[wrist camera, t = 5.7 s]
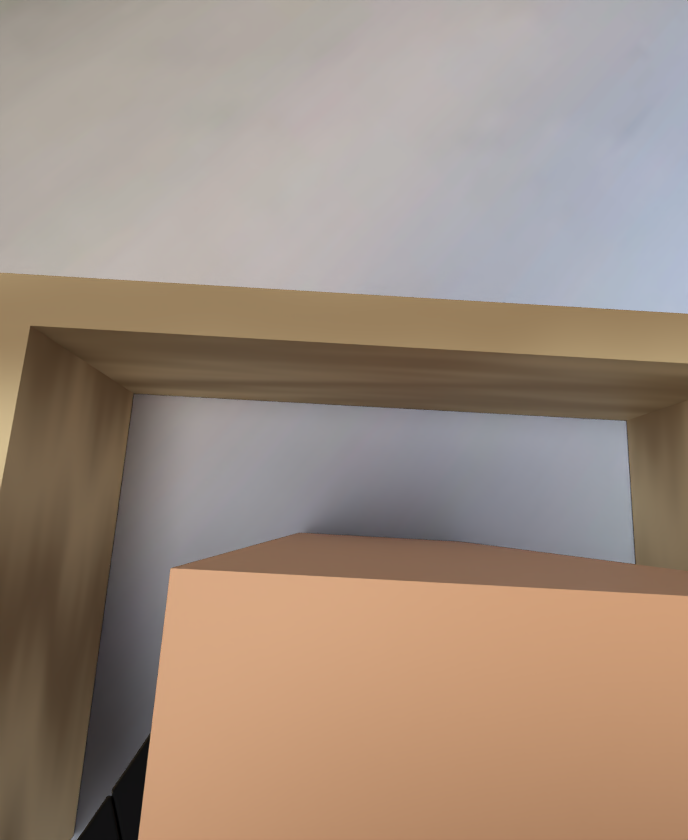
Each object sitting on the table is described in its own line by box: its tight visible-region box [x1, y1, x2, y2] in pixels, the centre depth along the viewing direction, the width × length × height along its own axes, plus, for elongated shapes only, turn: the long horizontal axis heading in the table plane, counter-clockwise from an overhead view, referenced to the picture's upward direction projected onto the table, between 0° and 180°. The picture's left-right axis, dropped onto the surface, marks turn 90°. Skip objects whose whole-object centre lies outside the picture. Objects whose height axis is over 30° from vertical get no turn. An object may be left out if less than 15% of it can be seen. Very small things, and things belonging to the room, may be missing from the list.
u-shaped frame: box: [0, 273, 688, 840], centre depth 13 cm, size 14×19×6 cm
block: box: [138, 533, 688, 840], centre depth 9 cm, size 5×5×13 cm
